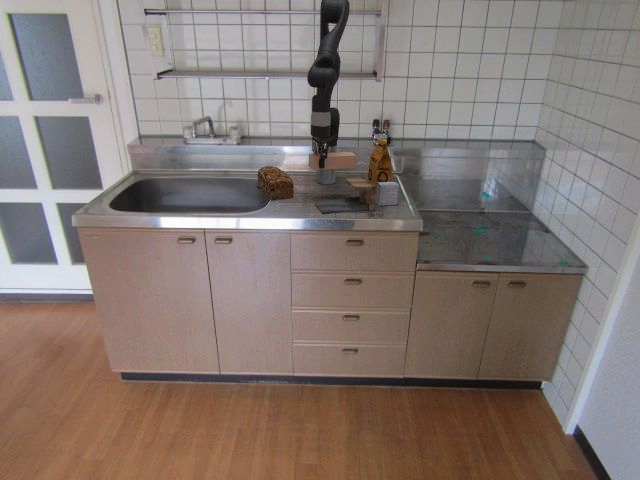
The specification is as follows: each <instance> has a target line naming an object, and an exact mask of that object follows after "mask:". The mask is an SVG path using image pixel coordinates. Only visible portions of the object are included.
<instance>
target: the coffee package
mask: <svg viewBox="0 0 640 480" xmlns="http://www.w3.org/2000/svg"><path fill="white" fill-rule="evenodd" d="M382 139H383V138H382ZM382 139H381V138H377V140H376V143H377V145H376V146H375V148H374V149H373V150H372V152H371V154H370V156H369V163H368V164H369V165H368V172H367V179H368V180H369V181H370V182H372V183H373V184H374V185H376V193H377V183H378V182H393V181H392V179H393V166H392V159H391V154H390V151H389V149H388V146H387V142H385V141H383V140H382Z"/></svg>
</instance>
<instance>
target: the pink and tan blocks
mask: <svg viewBox="0 0 640 480" xmlns="http://www.w3.org/2000/svg"><path fill="white" fill-rule="evenodd" d="M344 182H345V183H346V184H347V185H348V186H349V187H351V188H352V189H353V190H355V191H358V195H356V196H348V197H347V196H345V197H344V198H343V199H344V200H341V201H339V200H337V201H326V202H315V203H314V206H315V207H316V208H317V209H318V210H319V212H320V213H321V214H322V215H328V214H329V215H330V214H338V213H339V214H340V213H350V212H361V211H369V212H371V211H373V212H374V211H375V206H376V185H374V184H373V183H372V182H370V181H369V180H368V178H366V177H365V176H359V177H346V178H344Z"/></svg>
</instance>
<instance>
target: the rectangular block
mask: <svg viewBox="0 0 640 480" xmlns="http://www.w3.org/2000/svg"><path fill="white" fill-rule="evenodd" d="M356 164H357V155H356V154H355V153H354V152H352V151H343V152H342V151H341V152H340V151H337V152H334V153H328V154H327V159H325V167H324V168H323V169H336V170H338V169H339V170H340V169H355V168H356ZM308 167H309V168H310V169H311V171H316V170H322V169H320V168H319V154H318V153H313V152H312V153H308Z"/></svg>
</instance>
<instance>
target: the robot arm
mask: <svg viewBox="0 0 640 480" xmlns="http://www.w3.org/2000/svg"><path fill="white" fill-rule="evenodd" d="M319 10H320V12H319V46H318V50H317V55H316V58H315V60H314V62H313V63H312V65H311V67H310V69H309V70H308V73H307V79H306V80H307V84H308V85H309V86H310V87H311V88H316V93H315V94H314V95H313V96H312V98H311V114H310V136H311V143H312V144H311V147H312V149H311V151H312V154H313V153H318V154H319V168H320V169H322V170H315V183H318V184H319V185H332V184H334V183H336V180H337V179H336V177H337V169H323V168H324V167H325V159H327V154H328V153H334V152H338V149H337V148H338V140H339V135H340V134H339V131H340V122H341V121H340V120H341V117H340V115H341V114H340V111H339V109H338V107H331V101H332V95H333V92H334V88H335V86H336V84H337V82H338V81H339V78H340V71H341V57H340V55H339V52H338V50H339V46H340V42H341V40H342V38H343V35H344V32H345V29H346V26H347V24H348V21H349V16H350V1H349V0H321V3H320V9H319ZM329 24H331V25H332V24H334V25H335V26H334V27H333V28H332V29H331V30H330V27H329Z"/></svg>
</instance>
